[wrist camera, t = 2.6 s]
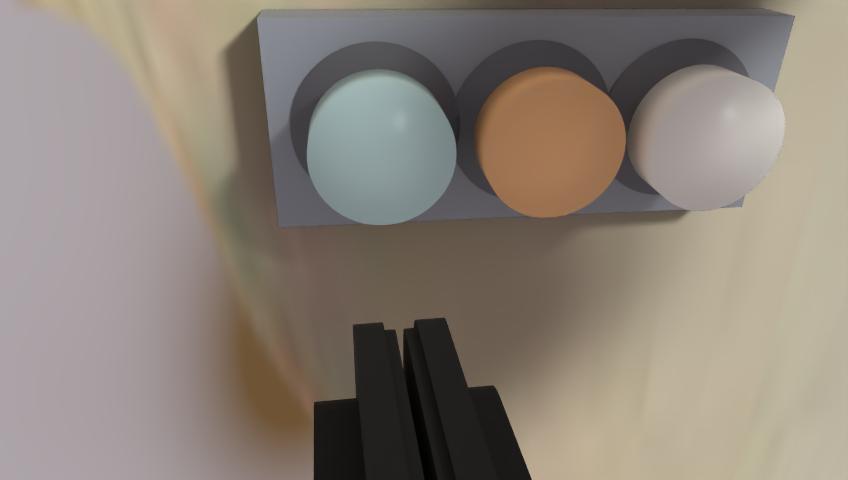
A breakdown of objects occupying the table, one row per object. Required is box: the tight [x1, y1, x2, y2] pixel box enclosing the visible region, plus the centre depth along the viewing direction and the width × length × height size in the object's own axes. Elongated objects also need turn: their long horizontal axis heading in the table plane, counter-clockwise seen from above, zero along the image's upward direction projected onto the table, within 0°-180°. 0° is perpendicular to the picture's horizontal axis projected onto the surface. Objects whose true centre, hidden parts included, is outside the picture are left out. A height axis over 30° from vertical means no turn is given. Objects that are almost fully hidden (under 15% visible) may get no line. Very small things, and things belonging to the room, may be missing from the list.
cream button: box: [627, 64, 785, 211], centre depth 23 cm, size 5×5×2 cm
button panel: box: [257, 9, 795, 228], centre depth 25 cm, size 20×8×2 cm, turn 89°
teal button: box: [307, 69, 457, 225], centre depth 22 cm, size 5×5×2 cm
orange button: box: [474, 67, 626, 218], centre depth 23 cm, size 5×5×2 cm
